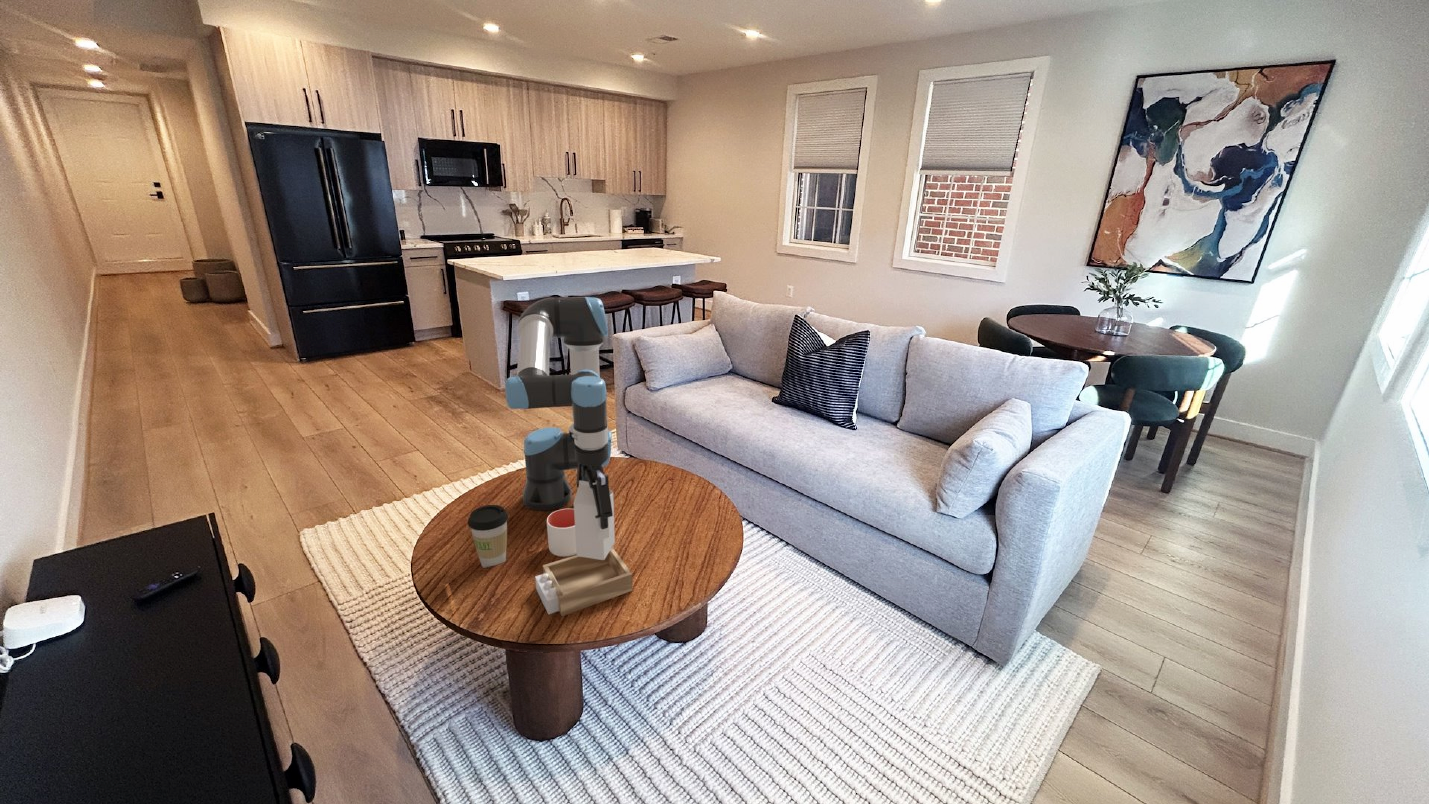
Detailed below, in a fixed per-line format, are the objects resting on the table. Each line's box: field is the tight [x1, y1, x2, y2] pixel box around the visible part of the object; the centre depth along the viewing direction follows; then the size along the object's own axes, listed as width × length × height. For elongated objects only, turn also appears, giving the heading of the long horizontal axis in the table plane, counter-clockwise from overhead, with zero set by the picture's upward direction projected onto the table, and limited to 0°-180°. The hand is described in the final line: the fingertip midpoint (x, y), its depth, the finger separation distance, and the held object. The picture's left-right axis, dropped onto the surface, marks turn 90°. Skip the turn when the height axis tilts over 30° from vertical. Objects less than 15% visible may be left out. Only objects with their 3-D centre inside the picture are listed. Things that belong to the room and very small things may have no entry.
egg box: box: [534, 571, 564, 616], centre depth 133 cm, size 10×4×5 cm, turn 32°
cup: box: [546, 508, 577, 558], centre depth 153 cm, size 10×10×10 cm
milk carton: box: [573, 480, 616, 560], centre depth 133 cm, size 7×7×19 cm
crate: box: [542, 546, 634, 617], centre depth 138 cm, size 14×18×6 cm
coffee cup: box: [467, 504, 509, 569], centre depth 146 cm, size 10×10×15 cm
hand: (595, 527), depth 134 cm, fingers closed on milk carton, 10 cm apart
